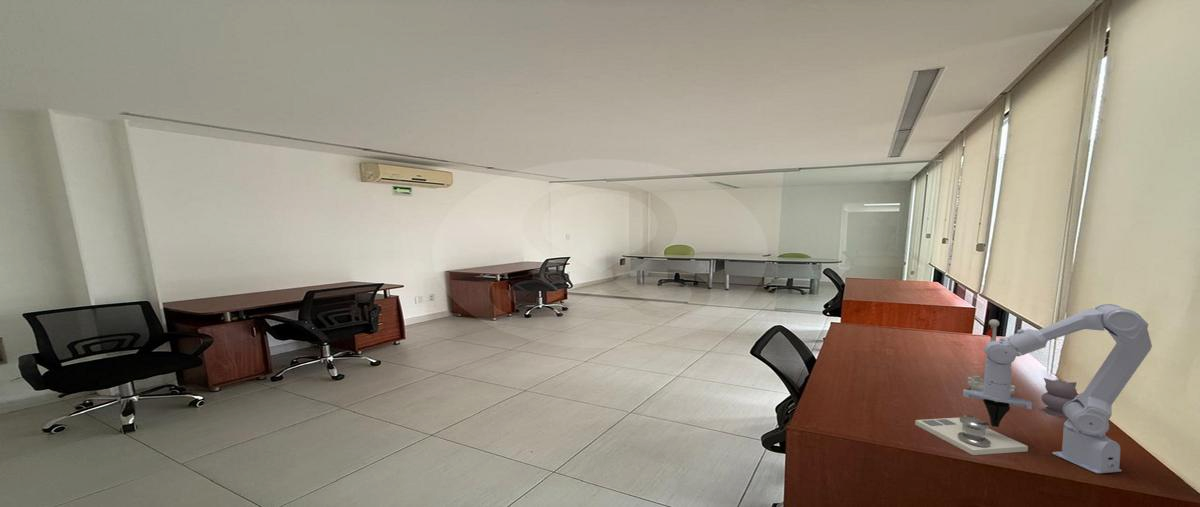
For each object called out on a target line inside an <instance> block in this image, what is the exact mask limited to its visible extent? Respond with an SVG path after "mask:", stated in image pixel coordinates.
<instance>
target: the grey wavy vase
mask: <svg viewBox="0 0 1200 507" xmlns="http://www.w3.org/2000/svg"><path fill="white" fill-rule="evenodd" d="M1043 380H1044V382H1045V386H1044V387H1045V390H1046V392H1044V393H1042V395H1041V397H1040V398H1041V402H1042V403H1043V404H1044V405H1045V406H1046V407H1045V413H1046V414H1049V415H1051V416H1054V417H1057V418H1062V419H1068V418H1067V417H1066V416H1065V414H1064V413H1063V406H1064V404H1065V403H1067V402H1069V401H1072V400H1073V399H1074V398H1075V397H1076V395H1078V392H1077V389H1076V386H1077V382H1076V381H1075V382H1073V381H1072V382H1071V381H1070V382H1067V381H1064V380H1059V379H1053V380H1052V379H1049V378H1046V377H1043Z"/></svg>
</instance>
